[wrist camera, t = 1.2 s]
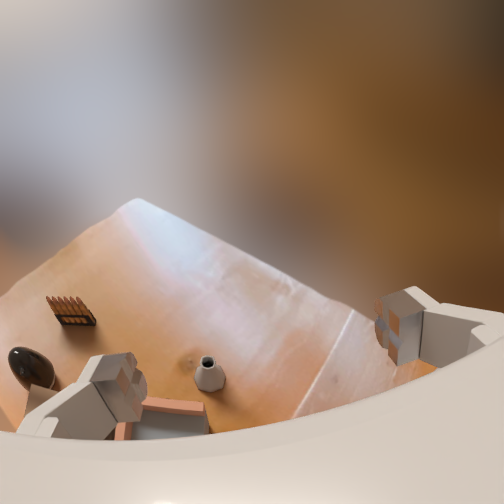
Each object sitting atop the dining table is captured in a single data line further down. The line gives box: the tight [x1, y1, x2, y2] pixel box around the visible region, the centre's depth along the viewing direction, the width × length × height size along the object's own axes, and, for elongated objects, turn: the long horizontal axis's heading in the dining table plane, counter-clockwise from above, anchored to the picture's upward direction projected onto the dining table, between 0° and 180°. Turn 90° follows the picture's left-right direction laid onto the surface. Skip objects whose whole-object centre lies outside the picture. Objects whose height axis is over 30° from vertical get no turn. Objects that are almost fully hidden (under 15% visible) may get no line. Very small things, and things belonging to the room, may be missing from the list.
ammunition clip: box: [46, 296, 96, 326], centre depth 67 cm, size 11×2×12 cm, turn 97°
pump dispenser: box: [8, 347, 55, 392], centre depth 54 cm, size 10×10×15 cm
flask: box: [194, 355, 225, 392], centre depth 63 cm, size 7×7×10 cm
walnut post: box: [24, 384, 116, 440], centre depth 43 cm, size 8×12×29 cm, turn 90°
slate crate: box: [131, 410, 209, 440], centre depth 46 cm, size 18×14×16 cm
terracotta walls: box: [114, 396, 205, 440], centre depth 39 cm, size 18×14×4 cm
